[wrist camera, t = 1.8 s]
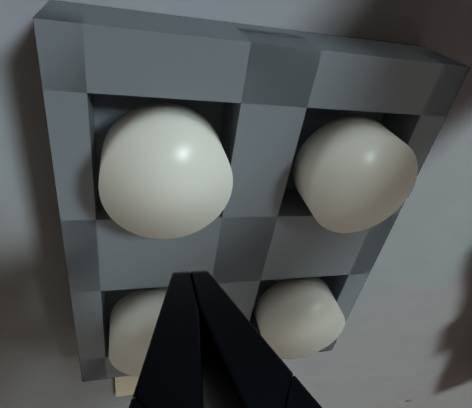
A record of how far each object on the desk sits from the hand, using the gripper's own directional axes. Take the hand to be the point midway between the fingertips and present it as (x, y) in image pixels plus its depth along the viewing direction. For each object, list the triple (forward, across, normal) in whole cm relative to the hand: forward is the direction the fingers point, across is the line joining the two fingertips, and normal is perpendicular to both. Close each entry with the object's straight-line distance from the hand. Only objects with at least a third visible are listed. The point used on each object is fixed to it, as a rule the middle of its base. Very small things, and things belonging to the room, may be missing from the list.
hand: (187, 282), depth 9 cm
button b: (+6, 0, 0) cm, 6 cm away
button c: (+6, -7, +9) cm, 13 cm away
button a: (+6, -7, 0) cm, 10 cm away
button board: (+9, -4, +5) cm, 11 cm away
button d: (+6, 0, +9) cm, 11 cm away
